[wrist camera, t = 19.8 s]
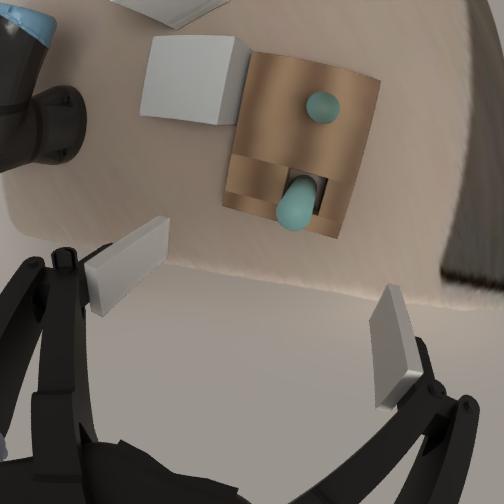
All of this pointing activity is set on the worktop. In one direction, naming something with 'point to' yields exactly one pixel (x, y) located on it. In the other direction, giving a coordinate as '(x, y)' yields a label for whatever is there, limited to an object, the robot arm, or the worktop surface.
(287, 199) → the peg
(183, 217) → the worktop surface
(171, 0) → the supplement box
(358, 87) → the board
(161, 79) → the grey square block
